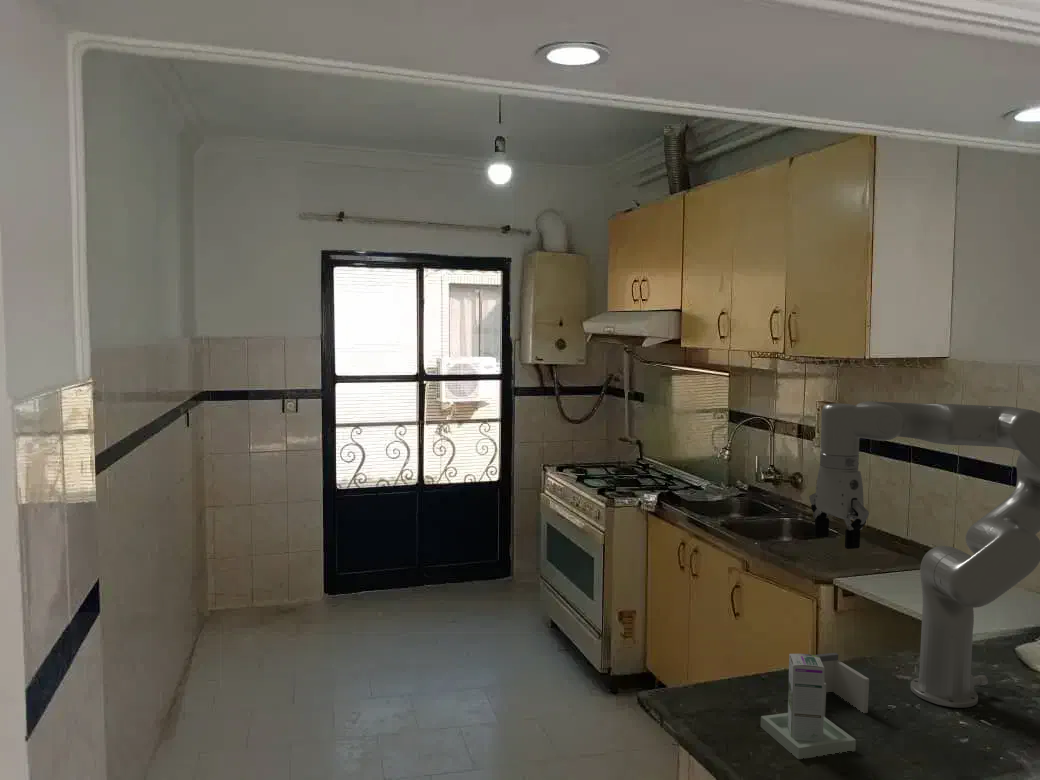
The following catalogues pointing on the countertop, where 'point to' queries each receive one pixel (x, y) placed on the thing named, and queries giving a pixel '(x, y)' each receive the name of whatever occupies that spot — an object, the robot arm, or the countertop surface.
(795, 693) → the syrup box
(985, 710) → the countertop surface
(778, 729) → the tray
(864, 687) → the bay
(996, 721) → the countertop surface
